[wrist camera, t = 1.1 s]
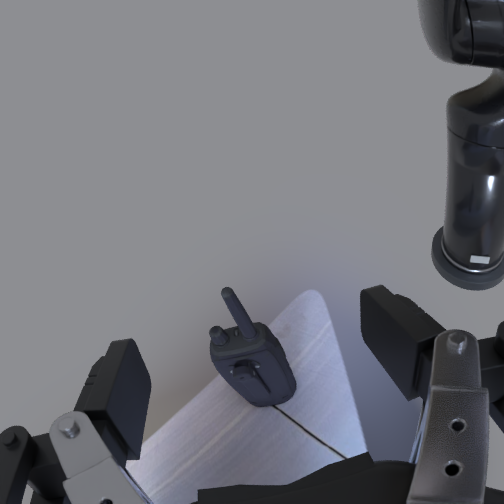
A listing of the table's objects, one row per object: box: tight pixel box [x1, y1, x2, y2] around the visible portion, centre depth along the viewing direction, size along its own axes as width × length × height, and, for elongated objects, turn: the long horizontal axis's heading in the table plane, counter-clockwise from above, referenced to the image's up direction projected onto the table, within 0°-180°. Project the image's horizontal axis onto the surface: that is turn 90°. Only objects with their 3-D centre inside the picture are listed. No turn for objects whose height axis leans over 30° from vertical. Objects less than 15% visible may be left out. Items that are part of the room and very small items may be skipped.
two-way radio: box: [209, 287, 296, 407], centre depth 24 cm, size 6×4×15 cm
